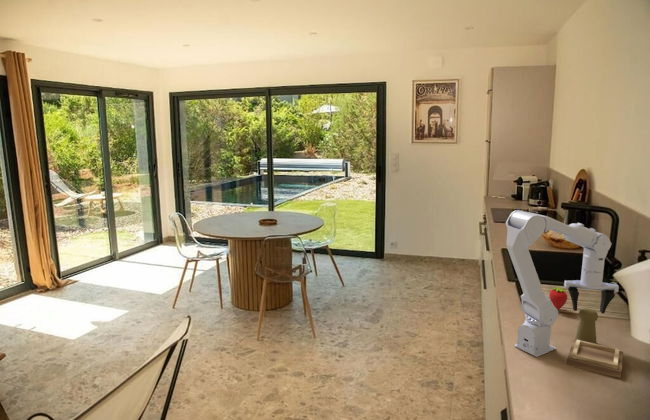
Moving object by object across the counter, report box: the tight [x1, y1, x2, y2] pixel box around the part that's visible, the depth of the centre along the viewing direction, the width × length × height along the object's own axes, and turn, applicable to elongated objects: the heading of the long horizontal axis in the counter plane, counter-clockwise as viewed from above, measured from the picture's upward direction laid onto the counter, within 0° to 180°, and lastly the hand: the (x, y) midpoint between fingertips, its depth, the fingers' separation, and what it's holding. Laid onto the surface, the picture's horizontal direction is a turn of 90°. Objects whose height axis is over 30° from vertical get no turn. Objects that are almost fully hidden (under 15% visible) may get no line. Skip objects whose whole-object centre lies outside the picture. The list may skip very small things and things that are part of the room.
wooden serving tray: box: [566, 339, 624, 379], centre depth 128 cm, size 13×13×3 cm
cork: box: [574, 308, 599, 344], centre depth 139 cm, size 6×6×11 cm
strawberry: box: [548, 286, 568, 311], centre depth 164 cm, size 6×8×10 cm
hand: (588, 311), depth 139 cm, fingers open, 7 cm apart
